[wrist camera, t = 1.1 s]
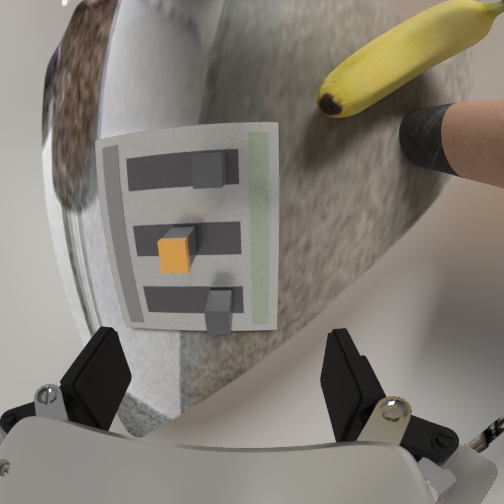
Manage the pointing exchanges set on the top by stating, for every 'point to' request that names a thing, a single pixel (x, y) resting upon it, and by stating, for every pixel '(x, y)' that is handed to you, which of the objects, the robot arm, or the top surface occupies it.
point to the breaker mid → (177, 250)
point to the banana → (404, 54)
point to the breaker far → (219, 312)
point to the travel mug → (458, 140)
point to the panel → (193, 223)
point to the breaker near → (208, 170)
